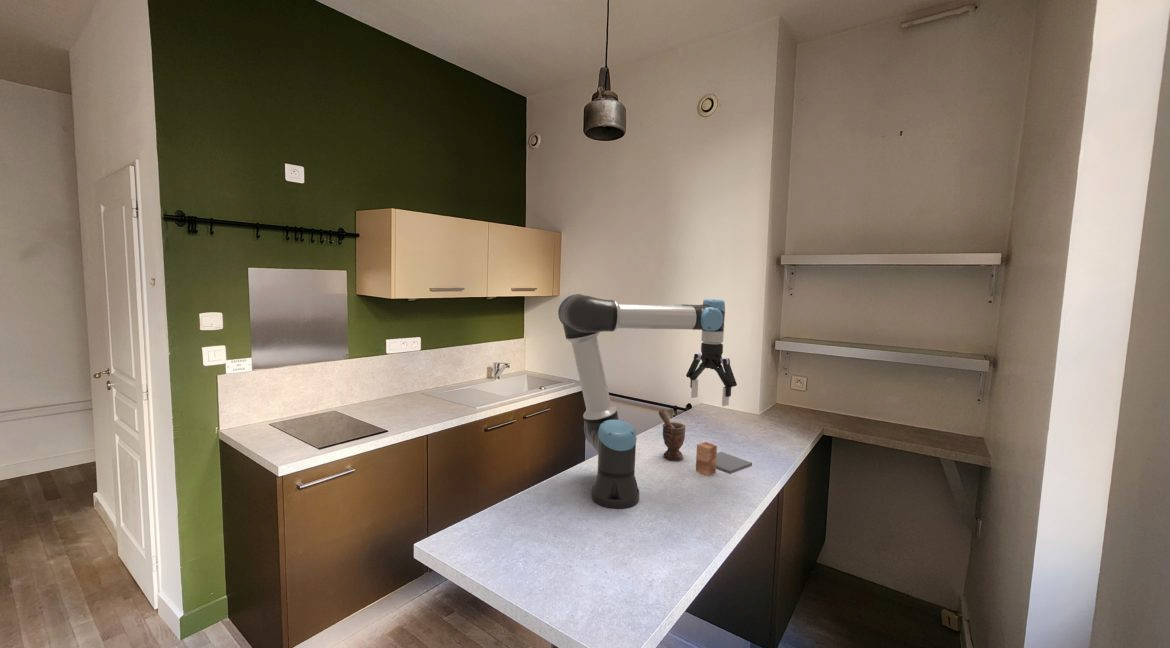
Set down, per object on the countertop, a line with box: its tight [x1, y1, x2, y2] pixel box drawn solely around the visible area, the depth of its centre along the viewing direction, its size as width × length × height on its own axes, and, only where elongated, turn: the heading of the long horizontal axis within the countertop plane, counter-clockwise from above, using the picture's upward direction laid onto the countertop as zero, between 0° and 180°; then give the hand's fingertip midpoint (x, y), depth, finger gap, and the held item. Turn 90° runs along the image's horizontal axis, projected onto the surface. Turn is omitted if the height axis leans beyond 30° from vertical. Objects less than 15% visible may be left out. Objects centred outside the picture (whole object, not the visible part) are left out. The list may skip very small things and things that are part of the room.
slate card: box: [716, 451, 753, 474], centre depth 180 cm, size 14×14×1 cm
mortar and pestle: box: [658, 409, 686, 461], centre depth 182 cm, size 12×9×20 cm
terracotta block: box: [695, 441, 718, 477], centre depth 170 cm, size 5×5×10 cm
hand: (709, 401), depth 169 cm, fingers open, 13 cm apart
